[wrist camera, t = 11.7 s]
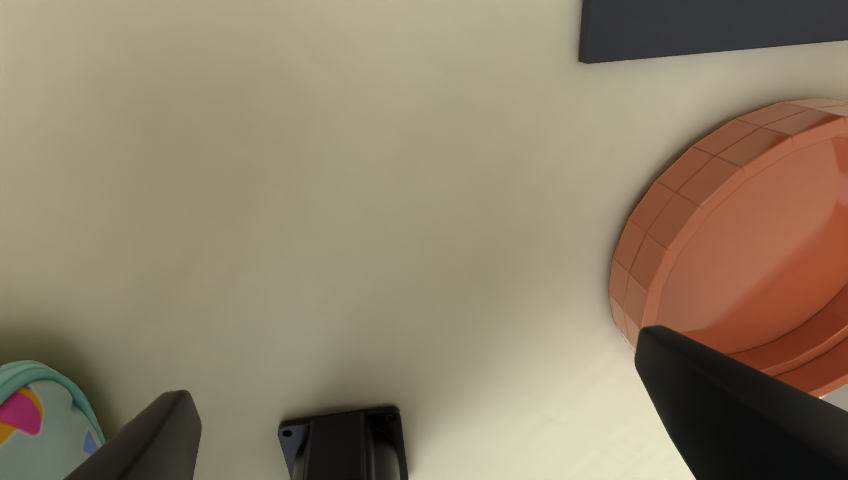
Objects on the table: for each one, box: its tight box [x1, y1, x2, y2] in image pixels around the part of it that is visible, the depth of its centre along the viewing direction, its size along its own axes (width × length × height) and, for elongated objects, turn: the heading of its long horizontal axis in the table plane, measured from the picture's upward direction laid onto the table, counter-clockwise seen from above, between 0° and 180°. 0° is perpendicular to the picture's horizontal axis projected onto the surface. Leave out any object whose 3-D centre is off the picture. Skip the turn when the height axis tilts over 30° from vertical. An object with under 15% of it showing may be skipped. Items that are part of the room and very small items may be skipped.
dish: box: [609, 98, 848, 398], centre depth 23 cm, size 15×15×4 cm
